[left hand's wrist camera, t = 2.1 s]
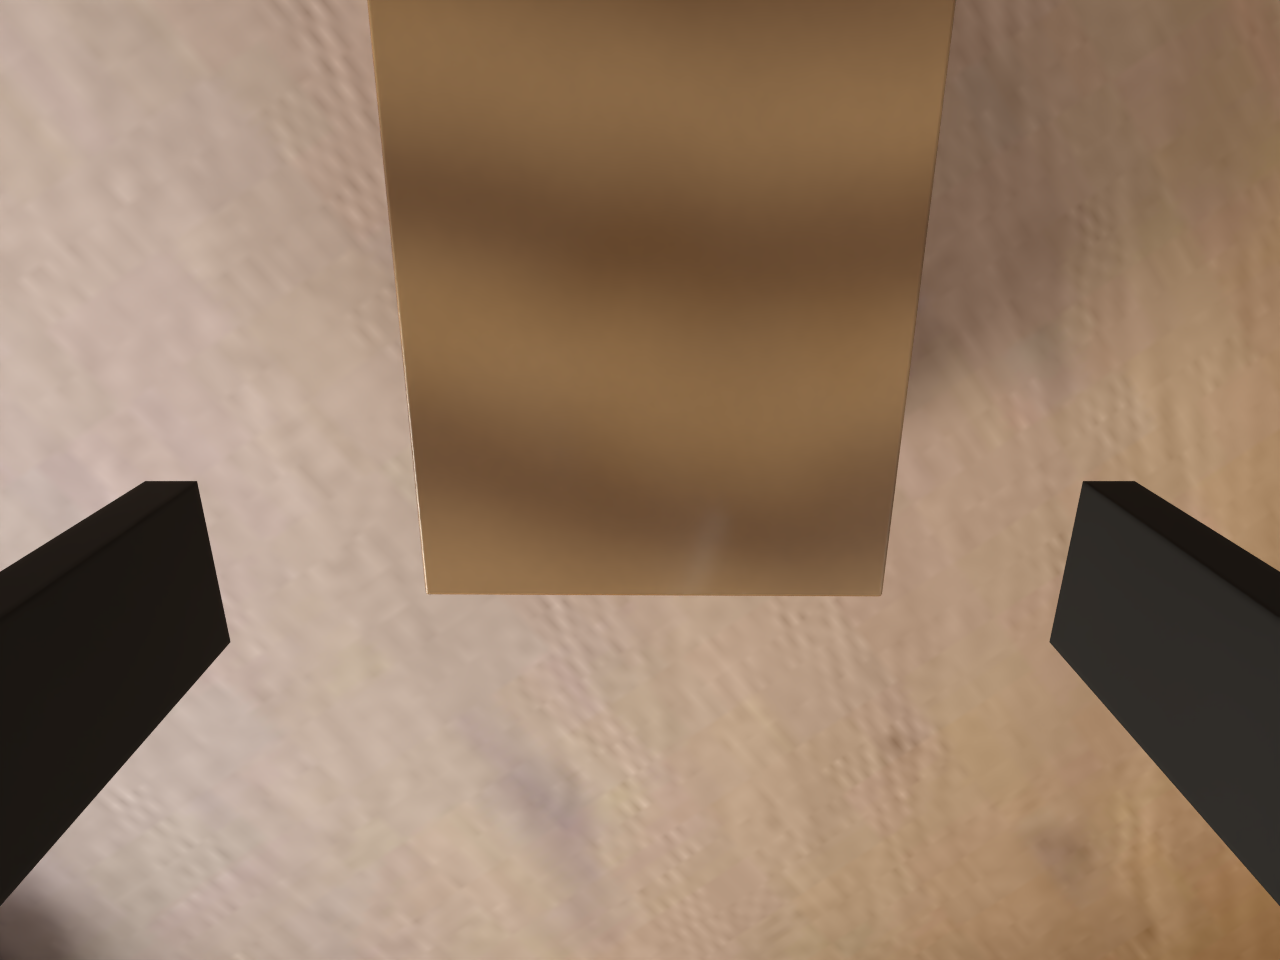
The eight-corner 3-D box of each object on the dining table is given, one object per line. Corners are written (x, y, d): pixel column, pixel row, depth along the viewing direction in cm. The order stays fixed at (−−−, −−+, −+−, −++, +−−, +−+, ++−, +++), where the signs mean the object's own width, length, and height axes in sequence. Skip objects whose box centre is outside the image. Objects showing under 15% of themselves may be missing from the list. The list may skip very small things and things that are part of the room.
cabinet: (464, -106, 24) (335, -314, 14) (844, -104, 24) (995, -309, 14) (497, 453, 31) (425, 595, 20) (800, 455, 31) (882, 597, 20)
